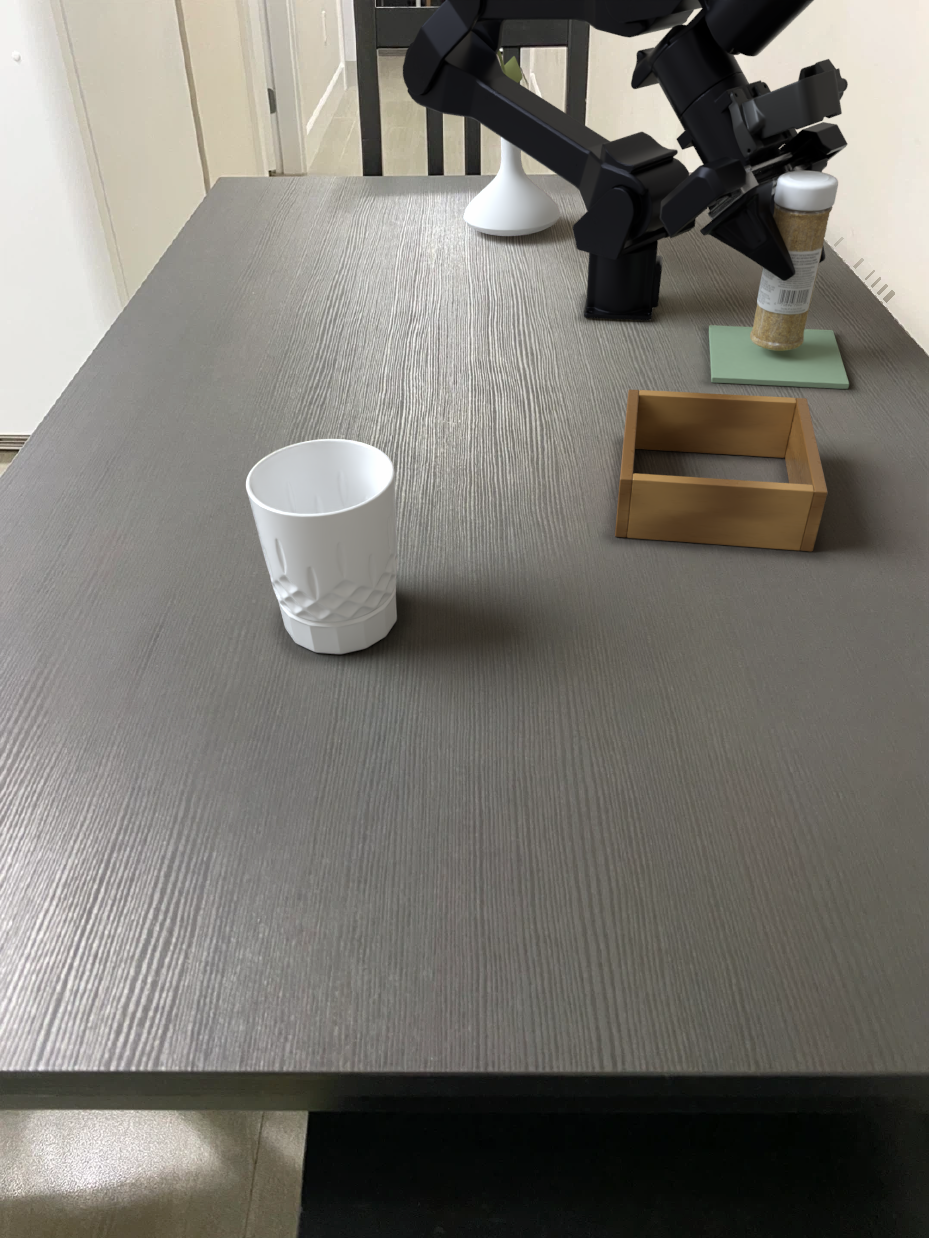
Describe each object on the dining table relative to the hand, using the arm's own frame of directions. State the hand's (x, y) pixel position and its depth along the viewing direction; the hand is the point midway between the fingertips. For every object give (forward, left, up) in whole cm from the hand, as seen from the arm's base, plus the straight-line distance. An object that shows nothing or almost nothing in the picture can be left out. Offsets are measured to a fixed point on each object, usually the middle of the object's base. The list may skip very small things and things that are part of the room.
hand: (805, 270), depth 76 cm
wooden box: (-7, -22, -8) cm, 25 cm away
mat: (-1, +1, -8) cm, 8 cm away
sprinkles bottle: (-1, +1, -7) cm, 7 cm away
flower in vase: (-29, +33, -8) cm, 44 cm away
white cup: (-29, -39, -8) cm, 49 cm away
